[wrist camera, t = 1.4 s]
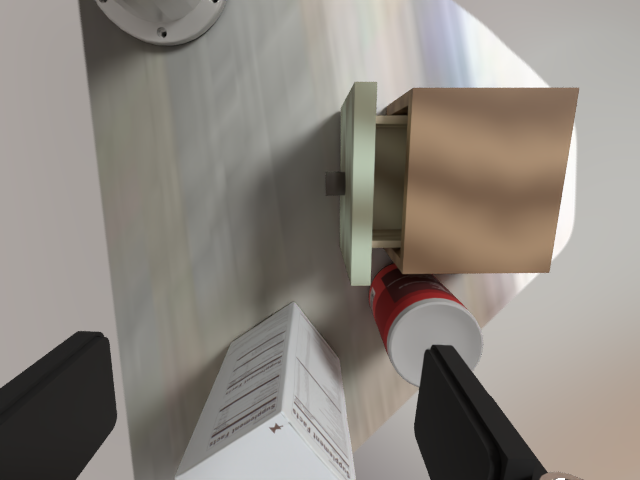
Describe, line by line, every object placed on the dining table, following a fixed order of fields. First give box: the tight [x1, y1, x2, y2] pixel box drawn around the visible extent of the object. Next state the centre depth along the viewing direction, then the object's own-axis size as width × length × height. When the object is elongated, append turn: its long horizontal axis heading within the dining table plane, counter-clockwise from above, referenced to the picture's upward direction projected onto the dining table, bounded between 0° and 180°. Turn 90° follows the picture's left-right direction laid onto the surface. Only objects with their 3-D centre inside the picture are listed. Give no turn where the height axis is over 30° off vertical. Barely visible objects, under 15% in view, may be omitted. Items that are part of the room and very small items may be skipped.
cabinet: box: [383, 88, 579, 274], centre depth 30 cm, size 14×12×9 cm
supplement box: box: [174, 302, 356, 480], centre depth 31 cm, size 10×9×17 cm
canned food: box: [369, 263, 483, 387], centre depth 32 cm, size 8×8×11 cm
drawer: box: [326, 82, 408, 286], centre depth 29 cm, size 14×14×12 cm
